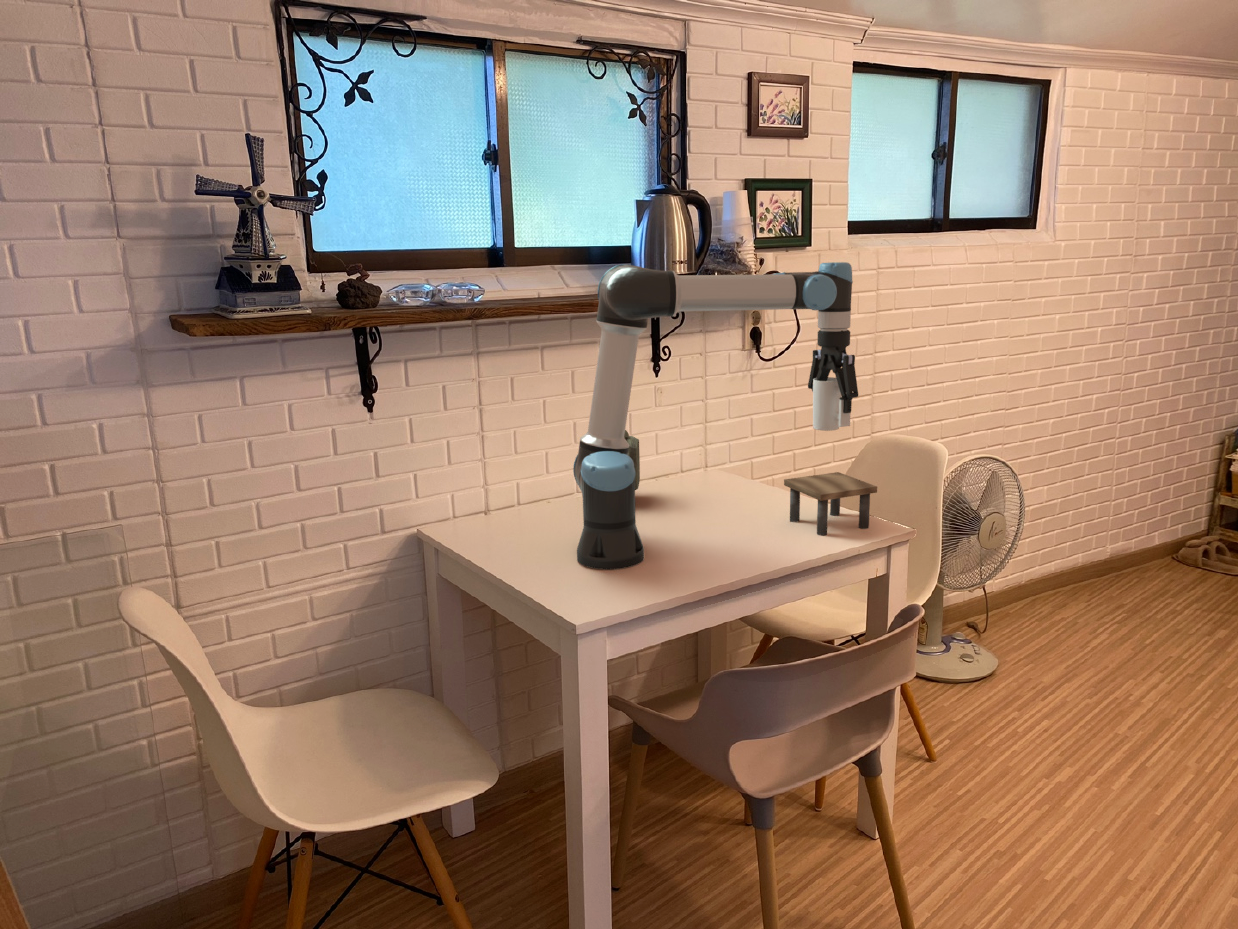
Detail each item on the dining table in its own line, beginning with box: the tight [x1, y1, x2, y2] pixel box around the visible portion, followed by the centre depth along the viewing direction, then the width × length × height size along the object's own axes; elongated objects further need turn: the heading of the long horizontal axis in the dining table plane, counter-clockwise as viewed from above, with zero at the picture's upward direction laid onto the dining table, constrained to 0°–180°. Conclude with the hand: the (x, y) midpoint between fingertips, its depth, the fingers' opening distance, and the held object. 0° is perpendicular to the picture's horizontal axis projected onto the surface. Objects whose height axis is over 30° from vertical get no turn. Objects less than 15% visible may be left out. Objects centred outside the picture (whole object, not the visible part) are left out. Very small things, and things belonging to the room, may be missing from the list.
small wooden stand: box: [783, 471, 878, 537], centre depth 227 cm, size 16×16×10 cm
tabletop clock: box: [624, 429, 641, 491], centre depth 250 cm, size 14×9×25 cm, turn 175°
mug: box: [812, 376, 842, 432], centre depth 221 cm, size 10×7×12 cm, turn 34°
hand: (831, 422), depth 222 cm, fingers closed on mug, 10 cm apart
